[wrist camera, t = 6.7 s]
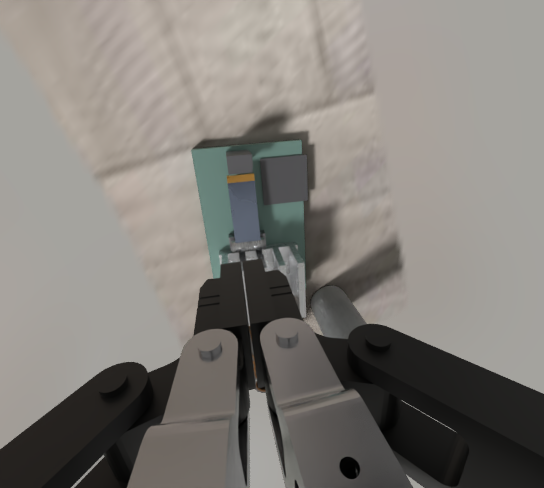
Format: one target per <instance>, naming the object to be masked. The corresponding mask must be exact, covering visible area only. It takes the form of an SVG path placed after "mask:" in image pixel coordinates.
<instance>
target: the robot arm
mask: <svg viewBox="0 0 544 488" xmlns="http://www.w3.org/2000/svg"><path fill="white" fill-rule="evenodd" d="M242 263H243V271H244V280H245V288H246V296H247V305H248V313H249V321H250V329H251V337H252V344H253V352H254V360H255V367H256V375H257V383H258V388H262V387H265V390H266V396H267V404H268V412H269V418H270V422H271V426H272V431H273V435H274V439H275V444H276V448H277V452H278V456H279V461H280V465H281V470H282V474H283V478H284V483H285V487H286V488H413V486H412V485H411V483H410V481H409V480H408V478H407V476H406V474H407V475H408V476H409V477H411V478H412V479H413V480H415V481H416V482H417V483H419V484H420V485H421V486H423V487H424V488H544V394H543V393H540V392H538V391H536V390H533V389H531V388H529V387H526V386H524V385H521V384H519V383H517V382H515V381H512V380H510V379H508V378H505V377H503V376H501V375H498V374H496V373H494V372H491V371H489V370H487V369H485V368H482V367H480V366H478V365H475V364H473V363H471V362H468V361H466V360H464V359H461V358H459V357H457V356H454V355H452V354H450V353H447V352H445V351H443V350H440V349H438V348H436V347H433V346H431V345H429V344H426V343H424V342H422V341H420V340H417V339H415V338H412V337H410V336H408V335H405V334H403V333H401V332H399V331H396V330H394V329H391V328H389V327H387V326H383V325H378V324H365V325H361V326H358V327H356V328H355V329H353V330H352V331H351V332H350V334H349V336H348V339H342V338H331V337H325V336H322V335H319V334H317V333H315V332H314V331H313V329H312V328H311V327H310V326H309V325H308V324H307V323H306V322H304V321H303V319H302V316H301V313H300V311H299V308H298V306H297V303H296V300H295V298H294V295H293V293H292V290H291V287H290V284H289V282H288V279H287V277H286V276H285V275H284V274H283V273H281V272H280V271H279V270H273V271H266V272H265V269H264V265H263V261H262V259H255V260H248V261H242ZM252 389H256V385H255V376H254V367H253V359H252V350H251V341H250V332H249V324H248V315H247V307H246V299H245V291H244V284H243V276H242V269H241V262H233V263H226V264H221V265H220V278H215V279H208V280H207V281H206V282H205V283H204V284H203V286H202V287H201V288H200V293H199V300H198V308H197V315H196V322H195V329H194V336H193V337H192V338H191V339H190V340H188V342H187V343H186V344H185V345H184V347H183V350H182V353H181V356H180V358H178V359H177V360H175V361H174V362H172V363H170V364H168V365H166V366H164V367H161V368H158V369H157V370H154V371H151V372H149V373H148V372H147V370H146V368H145V367H144V366H143V365H141V364H139V363H135V362H126V363H120V364H116V365H114V366H111V367H109V368H107V369H105V370H103V371H102V372H100V373H99V374H97V375H96V376H95V377H93V378H92V379H91V380H89V381H88V382H87V383H86V384H84V385H83V386H82V387H80V388H79V389H78V390H77V391H75V392H74V393H73V394H71V395H70V396H69V397H67V398H66V399H65V400H64V401H62V402H61V403H60V404H59V405H57V406H56V407H54V408H53V409H52V410H51V411H49V412H48V413H47V414H45V415H44V416H43V417H42V418H40V419H39V420H38V421H36V422H35V423H34V424H33V425H31V426H30V427H29V428H27V429H26V430H25V431H24V432H22V433H21V434H20V435H18V436H17V437H16V438H14V439H13V440H12V441H11V442H9V443H8V444H7V445H6V446H4V447H3V448H2V449H0V488H71V487H72V486H73V485H74V484H75V483H76V481H78V480H79V479H80V478H81V477H82V476H83V474H85V473H86V472H87V470H88V469H90V468H91V466H92V465H93V464H94V463H95V462H96V461H97V460H98V459H99V458H100V457H101V456H102V455H104V456H105V457H104V458H103V459H102V460H101V461H100V462H99V463H98V464H97V465H96V466H95V467H94V468H93V469H92V470H91V471H90V472H89V473H88V475H86V476H85V478H84V479H82V480H81V482H80V483H79V484H78V485H77V486H76V487H75V488H250V428H249V427H250V426H249V425H250V418H249V408H250V399H249V390H252ZM402 400H403V401H404V402H406V403H408V404H410V405H411V406H413V407H415V408H417V409H419V410H420V411H422V412H423V413H425V414H427V415H429V416H430V417H432V418H434V419H435V420H438V421H439V422H441V423H442V424H444V425H446V426H448V427H450V428H451V429H453V430H454V431H456V432H457V433H456V432H454V431H453V430H451V429H449V428H448V427H445V426H444V425H442V424H441V423H439V422H437V421H435V420H434V419H432V418H430V417H428V416H427V415H425V414H423V413H422V412H420V411H418V410H416V409H415V408H413V407H411V406H409V405H408V404H406V403H404V402H403V401H402Z"/></svg>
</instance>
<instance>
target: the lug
mask: <svg viewBox="0 0 544 488" xmlns="http://www.w3.org/2000/svg"><path fill="white" fill-rule="evenodd" d="M226 159H227V167H228V174H229V175H231V174H241V173H251V172H253V170H252V167H253V161H252V154H251V153H250V151H249V150H238V151H227V152H226Z"/></svg>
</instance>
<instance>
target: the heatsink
mask: <svg viewBox="0 0 544 488" xmlns="http://www.w3.org/2000/svg"><path fill="white" fill-rule="evenodd" d="M228 235H229V244H230V250H223V251H219V260H220V265H221V264H226V263H233V262H241V269H242V276H243V284H244V291H245V299H246V307H247V315H248V324H249V326H250V321H249V313H248V305H247V296H246V288H245V280H244V271H243V263H242V261H248V260H255V259H262V261H263V265H264V269H265V272H266V271H273V270H279V271H280V272H281V273H283V274H284V275H285V276H286V277H287V279H288V282H289V284H290V287H291V290H292V293H293V295H294V298H295V300H296V303H297V306H298V308H299V311H300V313H301V316H302V318H305V317H306V295H305V264H304V261H303V259H302V257H301V256H300V254H299V252H298V245H297V243H296V241H294V242H286V243H278V244H270V245H266V249H264V250H256V251H248V252H240V253H232V246H231V241H235V236H234V234H228ZM260 237H264V238H265V244H266V237H265V231H264V230H260Z"/></svg>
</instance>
